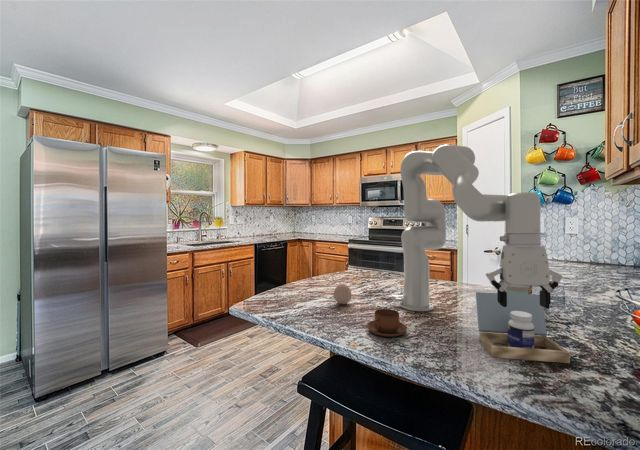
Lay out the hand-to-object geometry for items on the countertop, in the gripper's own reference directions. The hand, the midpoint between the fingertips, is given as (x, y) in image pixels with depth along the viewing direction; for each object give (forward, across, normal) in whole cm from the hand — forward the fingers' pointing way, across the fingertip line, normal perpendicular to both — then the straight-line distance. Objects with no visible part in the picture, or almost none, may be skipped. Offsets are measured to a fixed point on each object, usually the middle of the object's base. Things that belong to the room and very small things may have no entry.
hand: (523, 306), depth 77 cm
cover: (+4, 0, +7) cm, 8 cm away
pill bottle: (+12, 0, +1) cm, 12 cm away
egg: (+11, -52, +35) cm, 63 cm away
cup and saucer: (+12, -35, +8) cm, 37 cm away
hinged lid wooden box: (+12, 0, +1) cm, 12 cm away
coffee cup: (+12, +12, +36) cm, 40 cm away
